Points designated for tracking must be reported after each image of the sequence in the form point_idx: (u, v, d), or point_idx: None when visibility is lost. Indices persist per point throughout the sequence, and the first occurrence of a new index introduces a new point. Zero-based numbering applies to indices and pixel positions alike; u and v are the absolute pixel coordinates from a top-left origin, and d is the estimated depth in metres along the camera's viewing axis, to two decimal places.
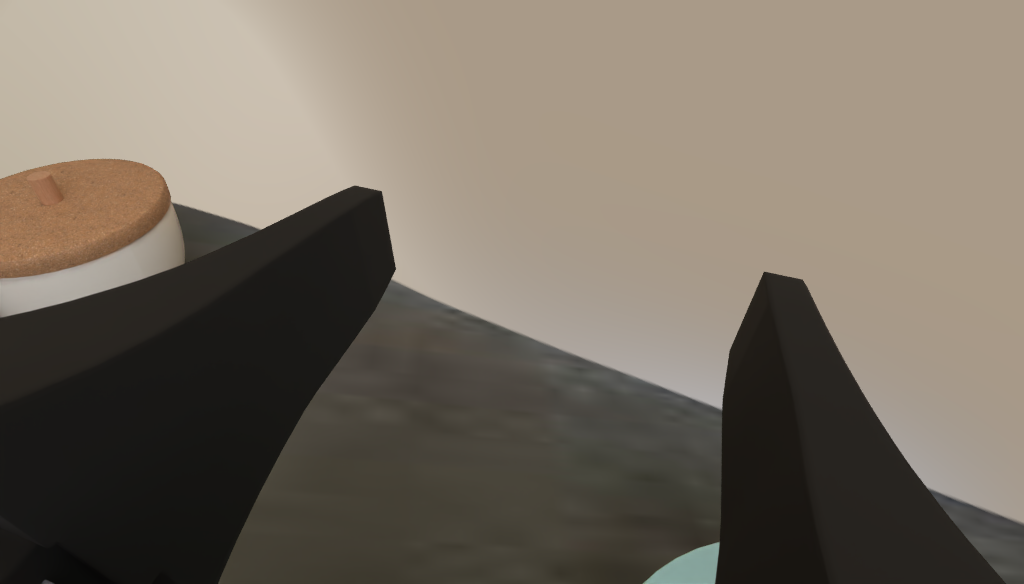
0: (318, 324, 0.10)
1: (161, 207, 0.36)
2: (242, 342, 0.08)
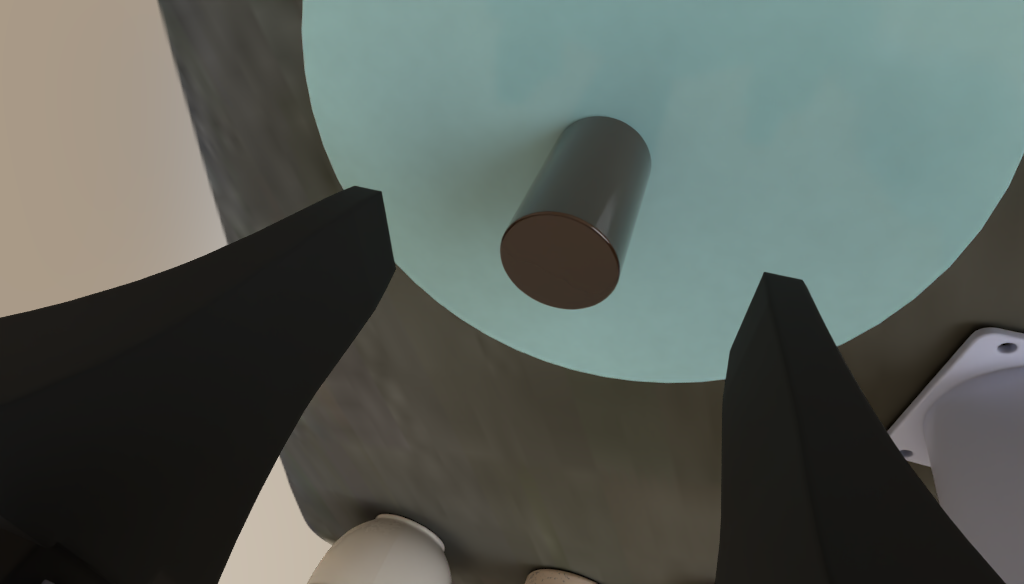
0: (318, 324, 0.10)
1: None
2: (242, 342, 0.08)
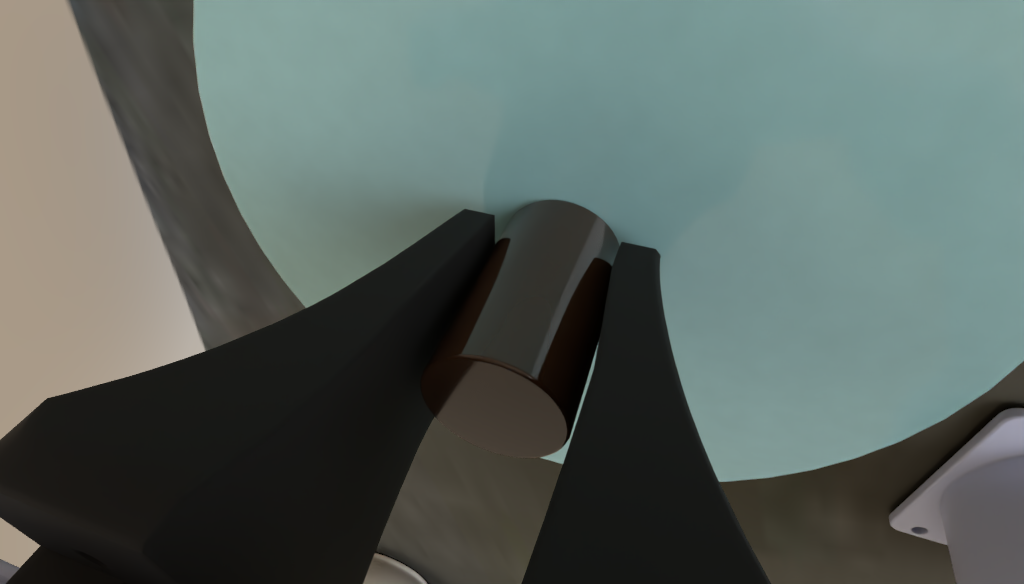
0: None
1: None
2: (382, 384, 0.08)
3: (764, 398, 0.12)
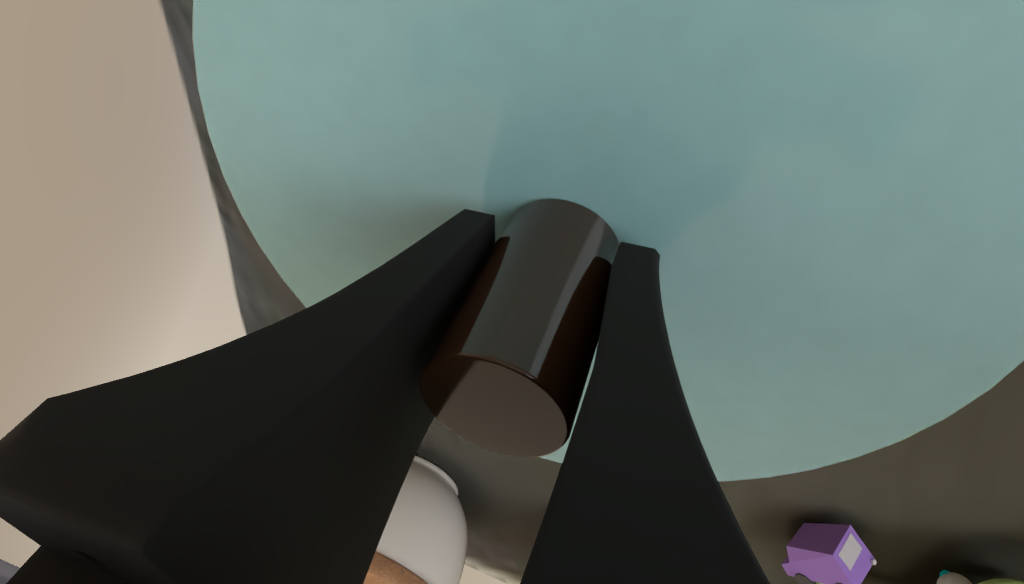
0: None
1: None
2: (383, 384, 0.08)
3: (764, 398, 0.12)
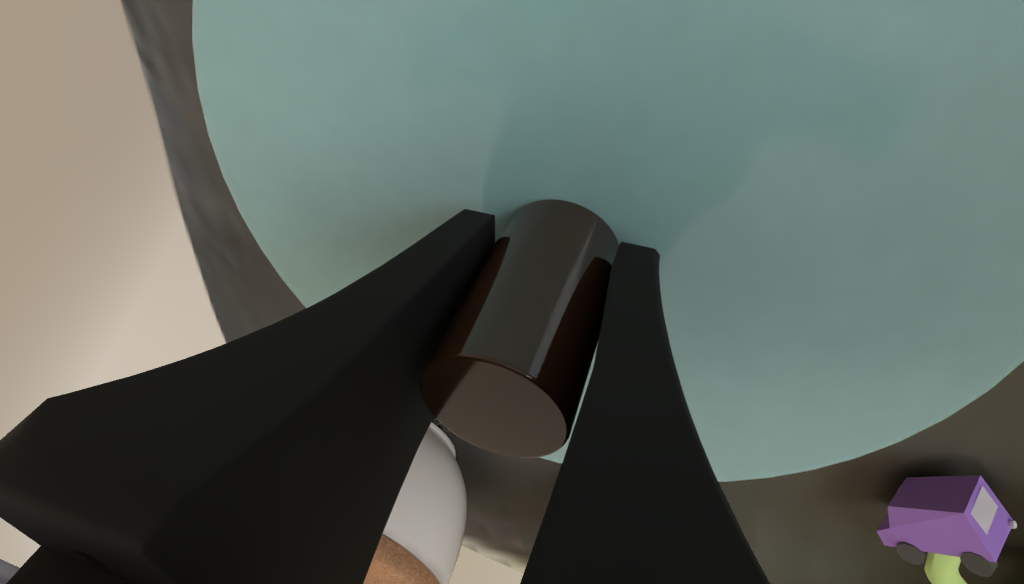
0: None
1: None
2: (383, 384, 0.08)
3: (764, 398, 0.12)
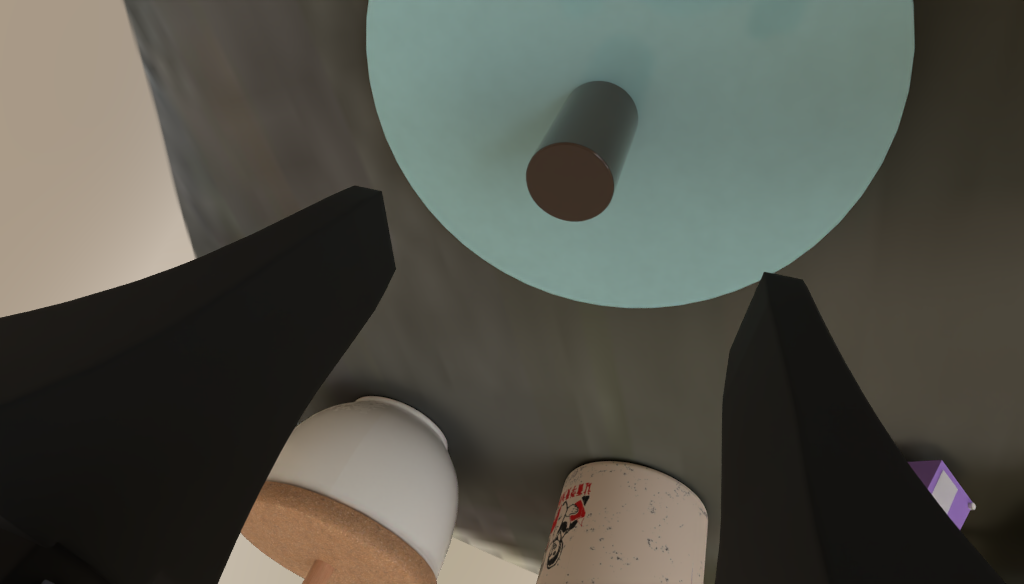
0: (318, 324, 0.10)
1: (264, 491, 0.29)
2: (242, 342, 0.08)
3: (729, 221, 0.18)
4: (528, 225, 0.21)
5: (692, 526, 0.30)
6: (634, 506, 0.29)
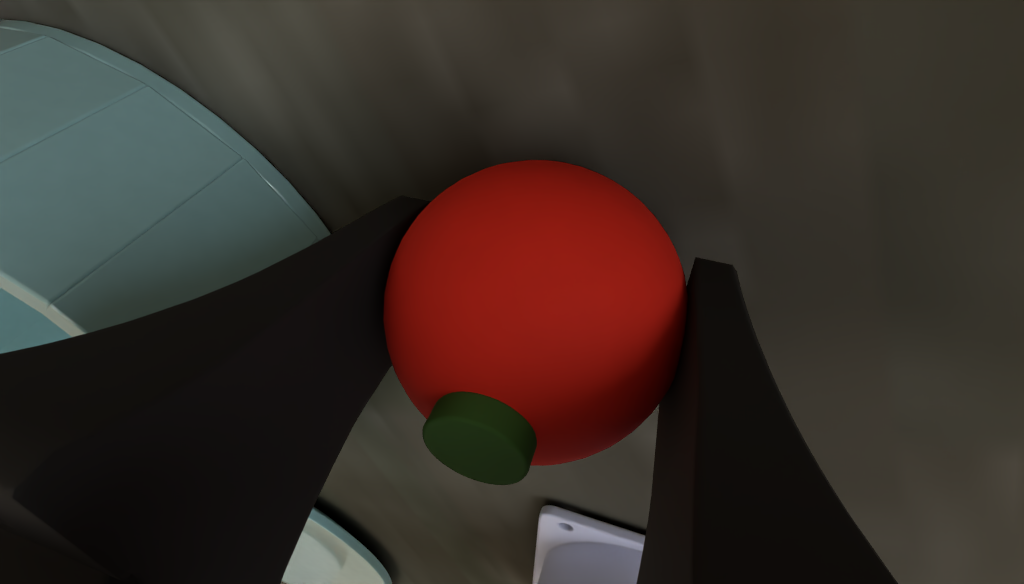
0: (369, 338, 0.10)
1: None
2: (301, 359, 0.08)
3: None
4: None
5: None
6: None
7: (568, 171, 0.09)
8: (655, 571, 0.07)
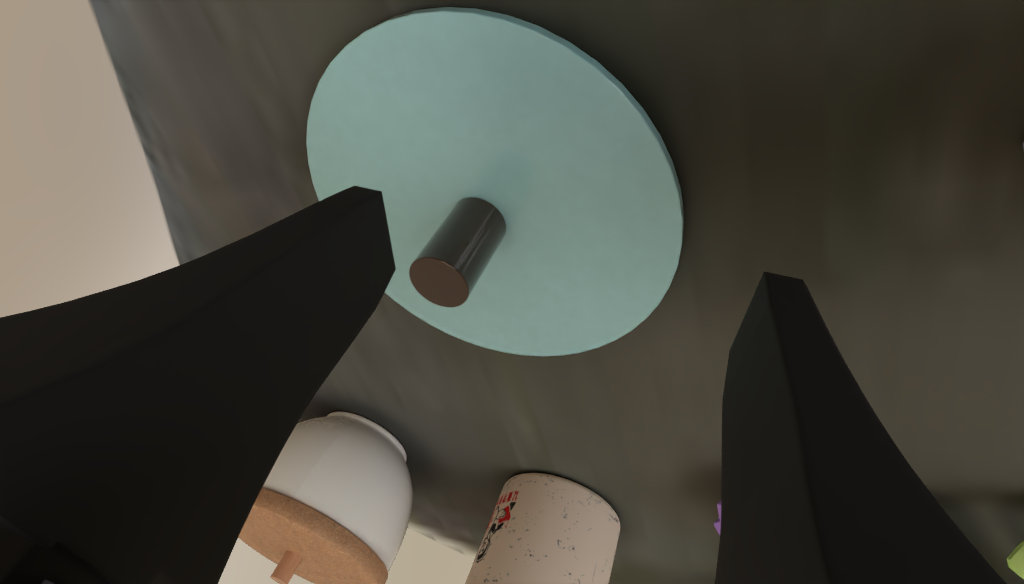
0: (318, 324, 0.10)
1: None
2: (242, 342, 0.08)
3: (583, 297, 0.24)
4: None
5: (600, 530, 0.35)
6: (550, 512, 0.35)
7: None
8: None
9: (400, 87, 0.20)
